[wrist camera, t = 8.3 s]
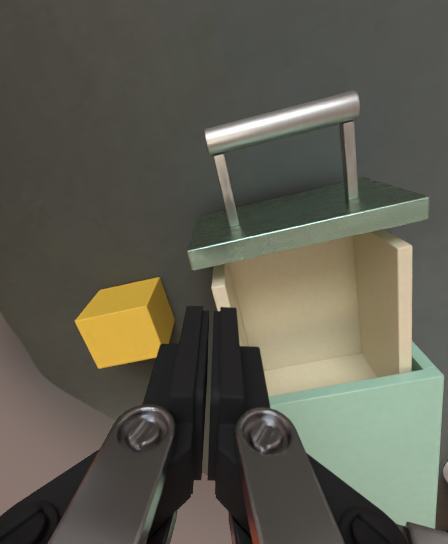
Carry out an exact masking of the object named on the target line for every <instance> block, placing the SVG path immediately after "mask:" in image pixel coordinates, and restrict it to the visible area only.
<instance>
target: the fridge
mask: <svg viewBox="0 0 448 544" xmlns="http://www.w3.org/2000/svg"><path fill="white" fill-rule="evenodd" d="M443 386H444V375H443V374H442V373H441V372H440V371H439V370H438V369H437V368H436V367H435V365H434V364H433V363H432V362H431V361H430V360H429V359H428V358H427V357H426V355H425V354H424V353H423V352H422V351H421V350H420V349H419V348H418V347H417V346H416V345H415V343H414V342H413V341H412V372H406V373H400V374H395V375H389V376H383V377H378V378H372V379H366V380H360V381H355V382H349V383H343V384H338V385H332V386H326V387H320V388H315V389H309V390H303V391H298V392H292V393H286V394H281V395H275V396H269V402H270V408H271V409H275V410H277V411H279V412H281V413H283V414H284V415H285V416H286V417H288V418H289V419H290V420H291V422H292V423H293V425H294V426H295V428H296V430H297V433H298V435H299V437H300V440H301V442H302V444H303V447H304V449H305V451H306V453H307V454H309V455H310V456H311V457H313V458H314V459H315V460H317V461H318V462H319V463H320V464H322V465H323V466H324V467H326V468H327V469H328V470H330V471H331V472H332V473H333V474H335V475H336V476H337V477H339V478H340V479H341V480H343V481H344V482H345V483H347V484H348V485H349V486H350V487H352V488H353V489H354V490H356V491H357V492H358V493H360V494H361V495H362V496H364V497H365V498H366V499H367V500H369V501H370V502H371V503H373V504H374V505H375V506H377V507H378V508H379V509H380V510H382V511H383V512H384V513H385V514H386V515H387V516H389V517H390V518H391V519H392V520H393V521H394V522H395V523H396V524H399V525H402V526H405V524H406V522H407V521H408V522H411V523H415V524H419V525H423V526H426V527H430V528H434V529H435V520H436V503H437V487H438V470H439V453H440V436H441V420H442V403H443Z"/></svg>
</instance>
